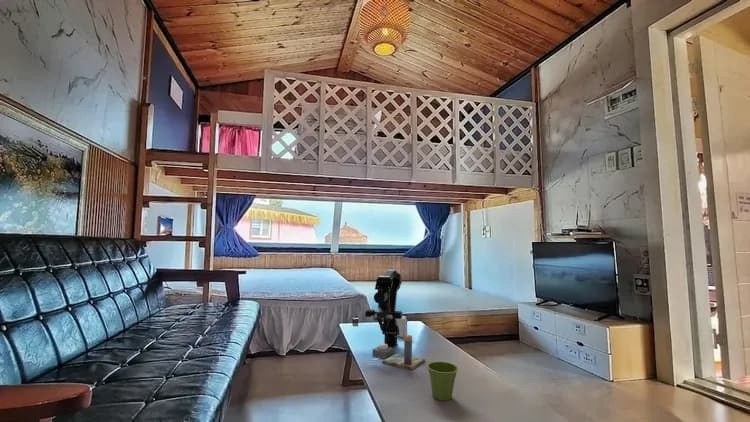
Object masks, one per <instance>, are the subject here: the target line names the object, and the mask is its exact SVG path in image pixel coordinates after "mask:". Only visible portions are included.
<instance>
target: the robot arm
mask: <svg viewBox="0 0 750 422" xmlns="http://www.w3.org/2000/svg"><path fill="white" fill-rule="evenodd" d="M397 271H398V270H396V269H391V268H390V269H387V270H386V273H384V274H382V275H378V276H377V278H376V281H375V286H374V287H375V288H374V290H377V291H376V292H375V294H373V300H374V302H375V303H376V304H377V309H376V310H375V309H370V308H368V309H367V310H366V311H365V314H364V317H365V318H372V316H374V319H376V320H377V323H378V325H379V327H380V328H379V329H380V332H382V335H384V337H383V339H384V342H383V344H388V347H391V348H395V347H396V346H398V345H399V343H398V336H397V335H399V327H398V324H397V320H396V319H401V318H402V316H403V312H402V311H401V310H396V309H397V308H396V307H397V300H398V299H397V296H398V291H399V290H400V288H401V285H402V283H403V278H402V276H401V274H400V273H399V272H397Z"/></svg>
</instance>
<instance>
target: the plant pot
mask: <svg viewBox="0 0 750 422" xmlns="http://www.w3.org/2000/svg"><path fill="white" fill-rule="evenodd" d="M426 367H427V369H428V373H429V378H430V385H431V392H432V393H431V394H432V397H433V398H434V399H437V400H439V401H445V402H446V401H449V400H450V399H452V397H453V392H454V388H455V387H454V385H455V382H456V381H455V379H456V376H457V373H458V372H459V367H458V366H457V365H455V364H454V363H451V362H447V361H432V362H429V363H427V365H426Z"/></svg>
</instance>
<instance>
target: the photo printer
mask: <svg viewBox="0 0 750 422" xmlns="http://www.w3.org/2000/svg"><path fill="white" fill-rule="evenodd" d="M396 320H397V324H398V327H399V335H397V337H399V338H403V339H404V336H405V335H408V319H407V318H406V317H405V316H404V315H402V318H401V319H396Z"/></svg>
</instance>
